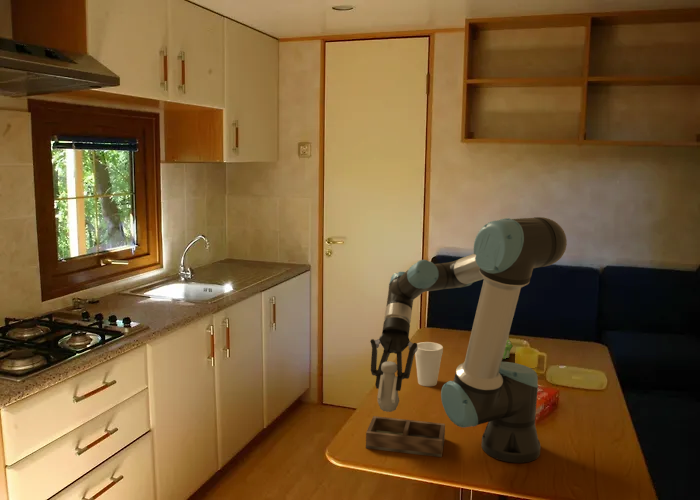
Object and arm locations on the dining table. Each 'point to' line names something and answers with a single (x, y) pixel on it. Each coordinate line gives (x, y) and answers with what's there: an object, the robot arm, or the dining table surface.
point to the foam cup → (428, 362)
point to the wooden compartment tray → (406, 436)
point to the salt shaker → (388, 387)
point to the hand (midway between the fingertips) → (386, 400)
